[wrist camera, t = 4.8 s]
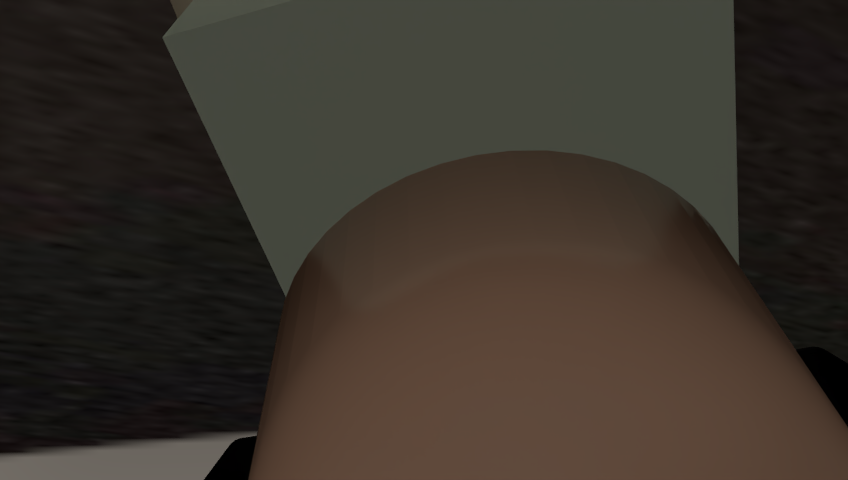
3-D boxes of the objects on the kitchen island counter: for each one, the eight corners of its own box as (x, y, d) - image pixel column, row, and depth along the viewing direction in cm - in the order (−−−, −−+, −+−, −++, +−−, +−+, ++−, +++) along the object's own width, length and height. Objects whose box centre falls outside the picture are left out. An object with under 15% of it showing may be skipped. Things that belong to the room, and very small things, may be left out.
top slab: (666, -147, 13) (730, -125, 11) (691, 246, 18) (740, 326, 15) (202, -12, 14) (162, 36, 12) (347, 326, 19) (340, 412, 16)
